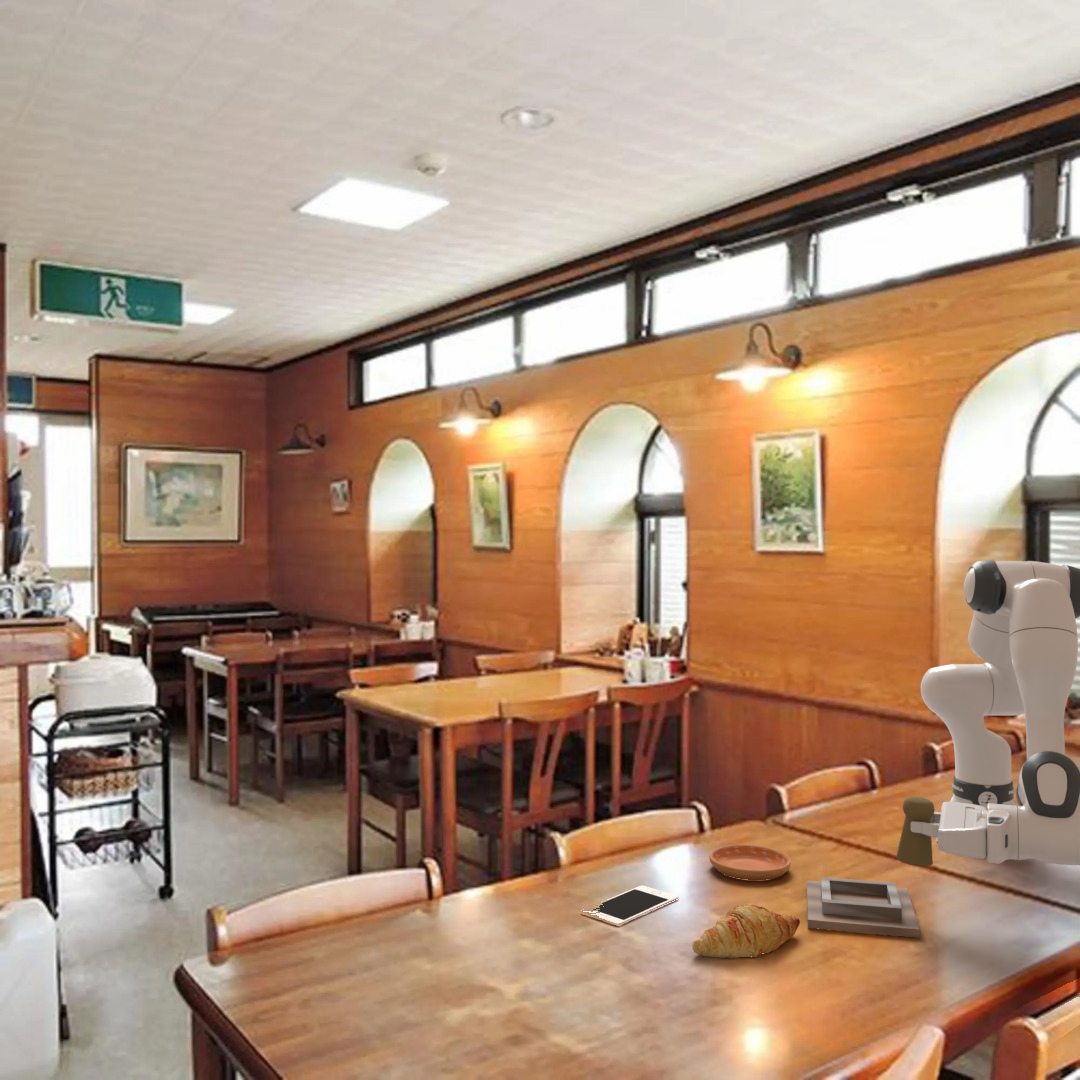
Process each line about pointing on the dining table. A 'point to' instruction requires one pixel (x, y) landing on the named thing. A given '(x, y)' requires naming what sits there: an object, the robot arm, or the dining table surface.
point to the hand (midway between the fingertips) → (911, 821)
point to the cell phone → (632, 904)
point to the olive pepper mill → (913, 844)
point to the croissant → (746, 933)
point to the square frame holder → (861, 907)
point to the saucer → (749, 862)
